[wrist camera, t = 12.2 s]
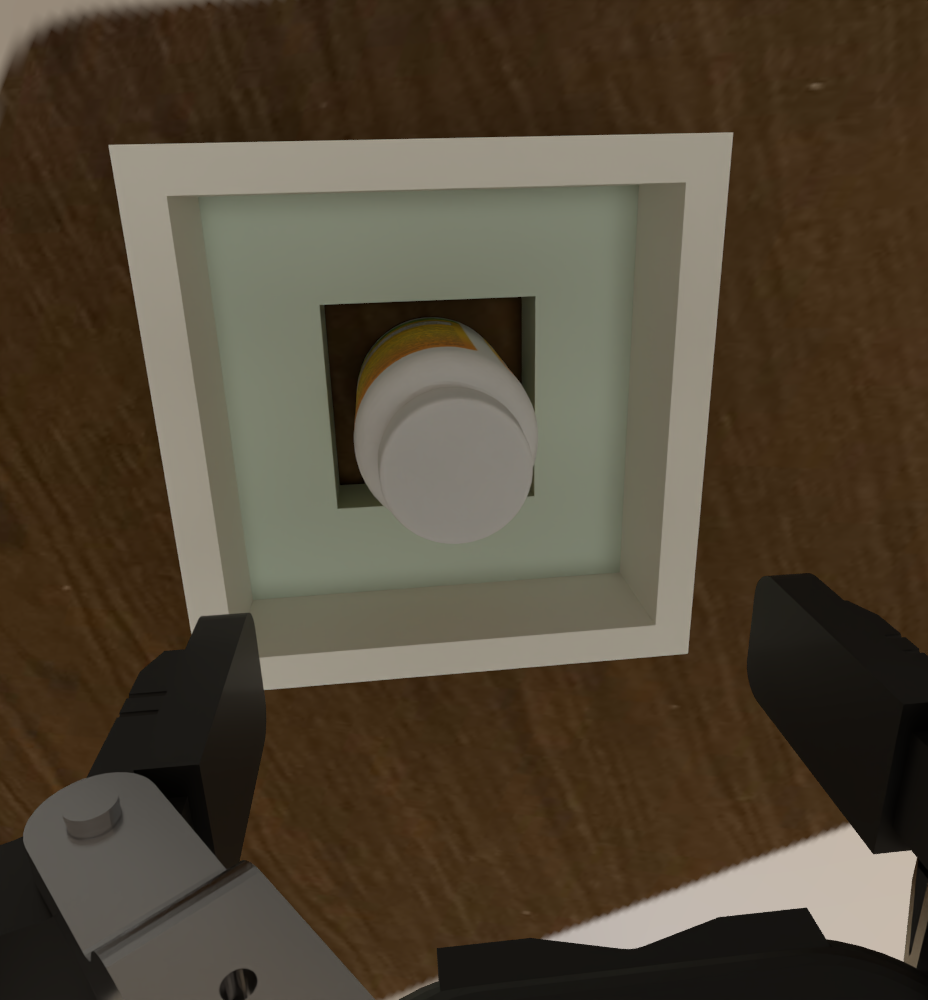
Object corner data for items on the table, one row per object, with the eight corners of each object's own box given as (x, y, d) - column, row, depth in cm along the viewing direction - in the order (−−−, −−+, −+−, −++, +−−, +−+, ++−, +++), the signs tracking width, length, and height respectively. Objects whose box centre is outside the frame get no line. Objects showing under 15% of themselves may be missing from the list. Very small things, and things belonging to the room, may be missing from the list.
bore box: (651, 147, 27) (733, 132, 21) (628, 570, 33) (687, 653, 27) (169, 158, 25) (108, 144, 19) (234, 599, 31) (202, 695, 25)
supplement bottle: (330, 415, 29) (311, 514, 20) (403, 286, 28) (417, 328, 19) (455, 483, 31) (490, 602, 22) (530, 362, 29) (601, 436, 20)
